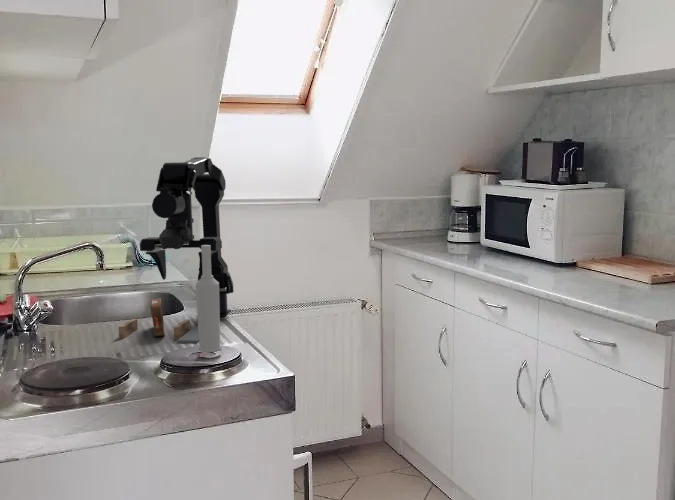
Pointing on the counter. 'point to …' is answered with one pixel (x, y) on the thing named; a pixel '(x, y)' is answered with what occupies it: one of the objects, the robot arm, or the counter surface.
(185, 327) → the tan wooden plank
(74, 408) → the counter surface
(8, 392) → the counter surface
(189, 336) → the grey plank
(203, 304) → the bottle
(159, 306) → the tin
